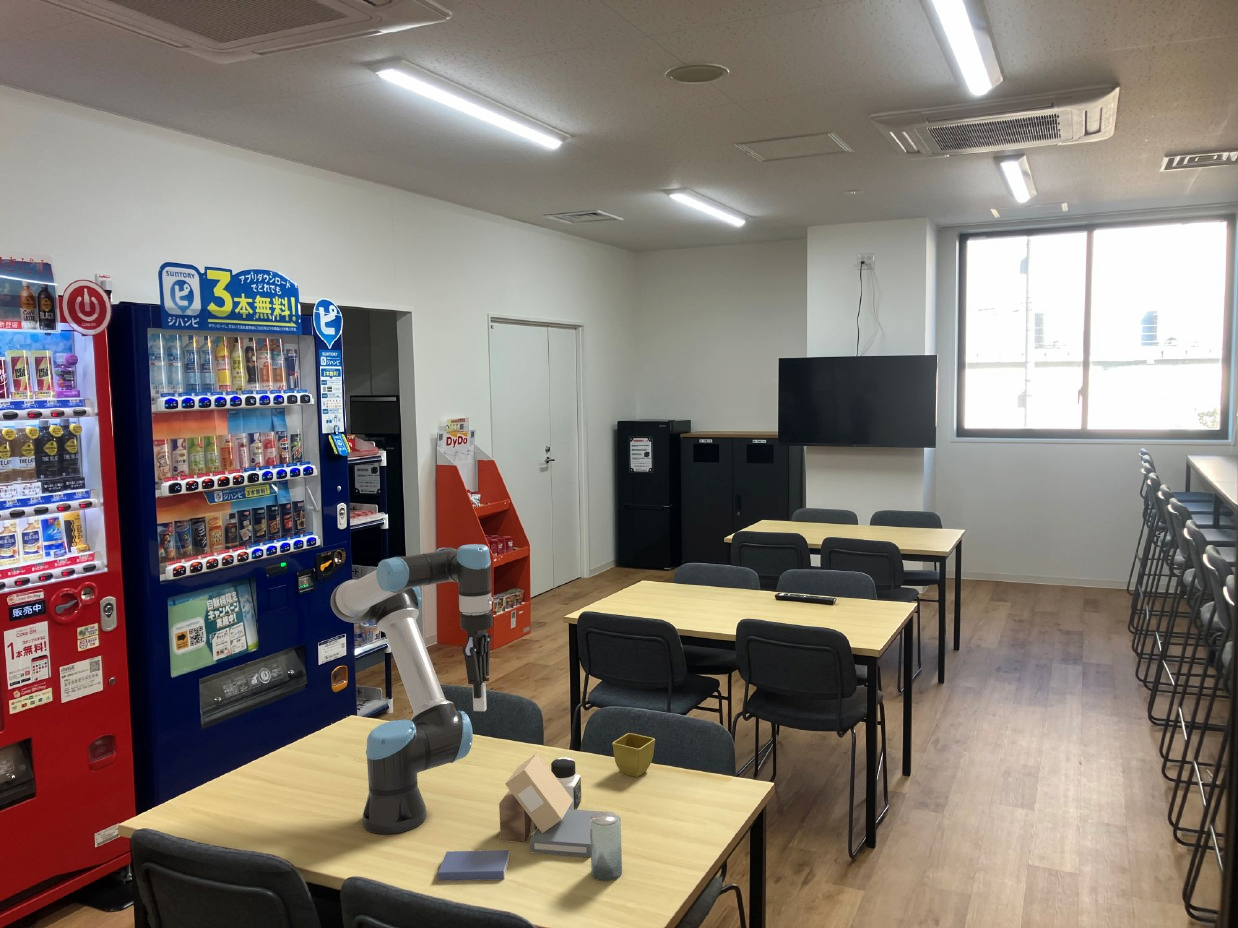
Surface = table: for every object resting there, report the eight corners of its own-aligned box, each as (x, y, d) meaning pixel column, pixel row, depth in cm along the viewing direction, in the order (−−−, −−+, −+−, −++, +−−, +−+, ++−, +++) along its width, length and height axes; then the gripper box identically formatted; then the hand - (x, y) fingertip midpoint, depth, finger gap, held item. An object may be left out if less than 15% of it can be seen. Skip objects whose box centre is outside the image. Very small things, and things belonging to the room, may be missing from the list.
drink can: (588, 879, 195) (586, 823, 194) (595, 863, 202) (593, 809, 201) (618, 882, 194) (617, 825, 193) (624, 866, 200) (623, 811, 199)
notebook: (438, 882, 197) (438, 872, 196) (447, 861, 206) (446, 851, 205) (504, 881, 196) (503, 870, 196) (509, 860, 205) (509, 849, 205)
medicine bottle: (574, 814, 226) (573, 766, 225) (546, 812, 227) (545, 765, 226) (581, 801, 233) (580, 755, 232) (554, 799, 234) (553, 754, 233)
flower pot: (656, 770, 251) (655, 738, 250) (640, 781, 243) (639, 748, 243) (629, 763, 256) (628, 732, 255) (612, 775, 248) (611, 742, 247)
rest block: (500, 840, 213) (499, 803, 213) (511, 824, 221) (510, 788, 220) (525, 842, 212) (523, 804, 211) (535, 826, 220) (534, 790, 219)
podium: (530, 852, 207) (530, 839, 207) (550, 819, 223) (550, 807, 223) (590, 857, 204) (590, 844, 204) (606, 823, 220) (606, 811, 220)
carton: (542, 833, 210) (504, 783, 211) (554, 813, 220) (518, 766, 221) (561, 819, 209) (524, 769, 209) (573, 799, 218) (537, 752, 219)
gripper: (481, 618, 207) (485, 720, 209) (500, 605, 220) (504, 701, 222) (450, 617, 209) (454, 718, 210) (471, 604, 221) (474, 699, 223)
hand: (480, 709), depth 216 cm, fingers closed
